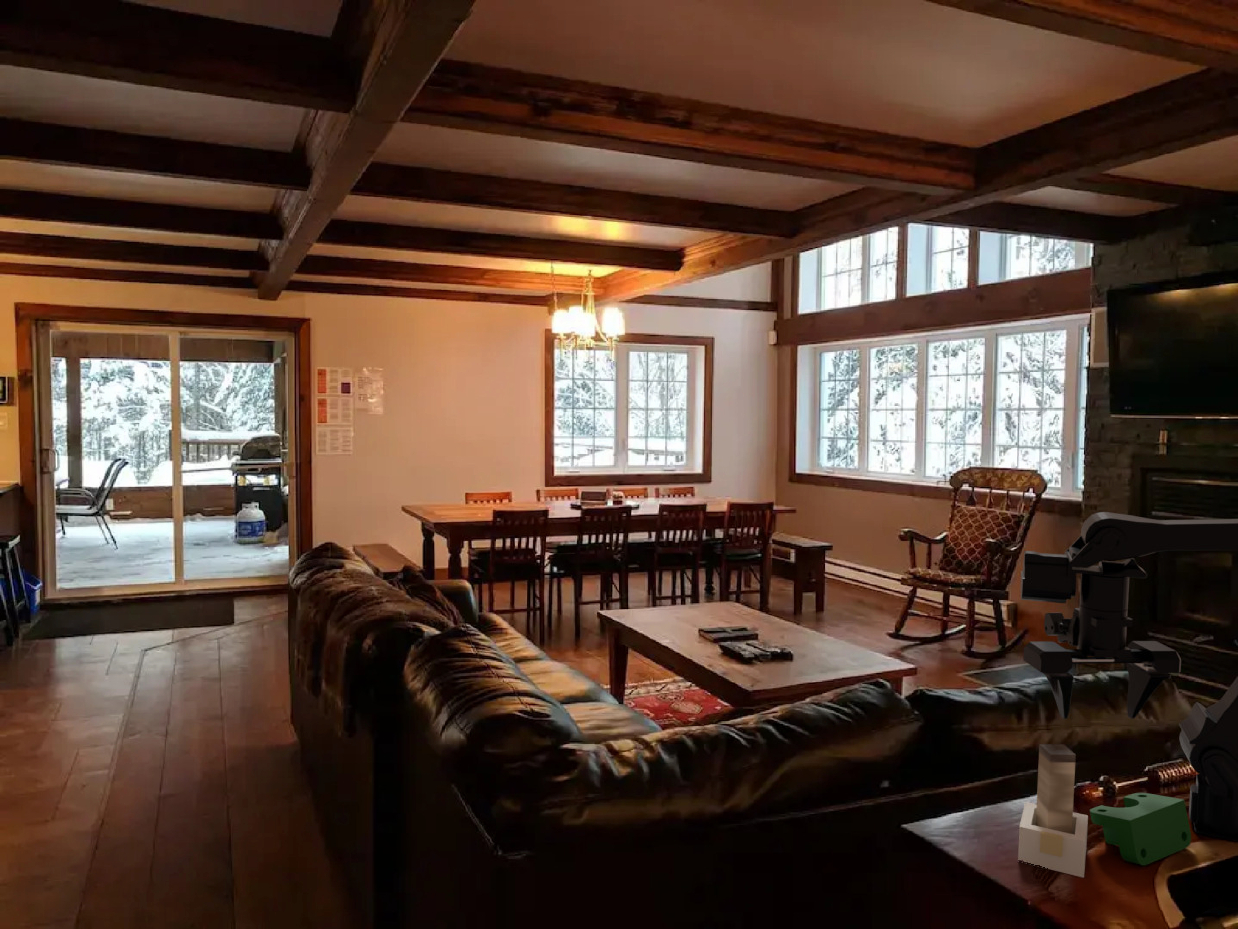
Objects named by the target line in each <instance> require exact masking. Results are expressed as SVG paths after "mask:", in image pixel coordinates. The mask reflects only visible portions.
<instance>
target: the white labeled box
mask: <svg viewBox="0 0 1238 929" xmlns="http://www.w3.org/2000/svg"><path fill="white" fill-rule="evenodd" d="M1036 811H1037V803H1032V802H1027V801H1025V802H1024V806H1023V810H1022V814H1021V819H1020V823H1019V826H1018V827H1019V832H1018V851H1017V852H1018V854H1017V861H1018V860H1023V861H1024V862H1028V863H1031V864H1034V865H1033V866H1035V865H1040V866H1042V867H1041V868H1043V867H1045V868H1044V869H1047V868H1048V869H1047V870H1051V871H1054V872H1059V873H1064V874H1066V875H1072V876H1075V877H1079V878H1085V870H1086V869H1085V868H1086V859H1087V858H1086V856H1087V843H1088V842H1087V841H1088V840H1087V839H1088V825H1089V823H1088V822H1089V816H1088V815H1087V814H1082V813H1078V812H1074V811H1073V819H1072V834H1069V833H1065V832H1061V831H1056V830H1052V829H1048V828H1043V827H1039V826H1036ZM1031 864H1030V865H1031Z"/></svg>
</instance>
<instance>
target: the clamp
mask: <svg viewBox="0 0 1238 929" xmlns="http://www.w3.org/2000/svg"><path fill="white" fill-rule="evenodd" d="M1123 802H1124V803H1123V804H1124V807H1112V806H1105V805H1103V804H1101V805H1099V806H1095V807H1093V808H1091V809H1089V814H1090V819H1091V823H1092V824H1094V825H1097V826H1101V827H1102V830H1103V836H1104V841H1105V843H1107V844H1109V845H1112V846H1116V847H1119V848H1118V849H1119V854H1120V856H1121V858H1122V860H1124V861H1125V862H1128V863H1133V864H1136V865H1139V866H1147V865H1149V864H1151V863H1155V862H1157V861H1159V860H1162V859H1163V858H1165V857H1169V856H1170V855H1173V854H1175V853H1178V852H1180V851H1182V850H1184V849H1187V848H1188V847H1189V846H1190V844H1191V841H1192V833H1191V829H1190V828H1191V827H1190V824H1189V823H1190V822H1189V816H1188V813H1187V806H1186V801H1185V799H1182V798H1176V797H1171V796H1167V795H1166V796H1165V795H1159V794H1154V793H1153V794H1152V793H1147V792H1136V793H1132V794H1128V795H1125V796H1123Z"/></svg>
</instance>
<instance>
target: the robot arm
mask: <svg viewBox="0 0 1238 929" xmlns="http://www.w3.org/2000/svg"><path fill="white" fill-rule="evenodd" d="M1213 551H1214V552H1218V551H1219V552H1222V551H1223V552H1224V551H1225V552H1227V551H1230V552H1234V551H1235V552H1237V551H1238V518H1225V519H1224V518H1219V519H1217V518H1216V519H1215V518H1214V519H1213V518H1212V519H1166V520H1165V519H1154V518H1147V517H1141V516H1136V515H1132V514H1131V515H1130V514H1125V513H1116V512H1108V511H1100V512H1095V513H1093V514H1091V515H1090V516H1088V518H1086V519H1085V520H1084V522H1083V524H1082V526H1081V531H1080V535H1079V537H1077V539H1075V541H1074V542H1073V543H1072V544H1071V545H1070V546H1069V547H1068V548H1067V549H1066V550H1065V551H1064V554H1061V553H1045V552H1044V553H1043V552H1038V551H1035V550H1034V551H1033V550H1025V551H1023V562H1022V570H1020V588H1019V589H1020V600H1022V601H1032V602H1035V601H1036V602H1044V603H1045V602H1046V603H1056V604H1057V603H1058V604H1067V600H1072V598H1074V597H1076V593H1077V574H1078V575H1079V574H1080V584H1079V585H1080V589H1079V590H1080V591H1079V607H1075V608H1074V610H1073V612H1072V618H1065V617H1064V614H1063V613H1062V612H1045V613H1044V621H1043V628H1044V633H1045V635H1046V636H1047V637H1048V636H1053V637H1054V636H1057V642H1058V643H1067V644H1068V645H1070V646H1071V647H1077V648H1075V649H1074V648H1073V649H1072V648H1070V649H1069V648H1065V647H1063V646H1061V645H1060V644H1058V643H1057V642H1055V641H1028V642H1027V643H1026V645H1025V646H1024V648H1023V654H1022V656H1023V657H1022V659H1023V661H1024V662H1026V663H1027V664H1028V665H1029V666H1031V667H1033V668H1034V669H1036V670H1037V671H1038V672H1039V673H1042V674H1043V675H1045V677H1046V679H1047V681H1048V683H1049V686H1050V688H1051V691H1052V694H1053V697H1054V700H1055V703H1056V706H1057V708H1058V712H1059V715H1060V716H1061V718H1062V719H1063V720H1067V719H1068V717H1069V713H1070V709H1071V702H1072V693H1073V687H1074V686H1073V685H1074V684H1073V683H1074V675H1072V674H1071V673H1069V671H1071V670H1072V669H1073V664H1074V665H1076V664H1077V665H1078V664H1083V665H1084V664H1086V665H1087V664H1088V665H1089V664H1091V665H1093V664H1095V665H1096V664H1101V665H1102V664H1104V665H1105V664H1125V667H1126V670H1127V674H1128V689H1127V690H1128V691H1127V699H1126V701H1127V702H1126V710H1127V711H1126V713H1127V717H1128V718H1130V719H1135V718H1137V715H1138V714H1139V713H1140V711H1141V710H1142V709H1143V708H1144V705H1145V704H1146V702H1147V701H1148V700H1149V699H1150V697H1151V696H1152V694H1153V693H1154V692H1156V690H1157V688H1158V687H1159V686H1160V685H1161V684H1162V683H1163V681H1164V680H1170V679H1171V676H1172V675H1171V674H1180V673H1181V670H1182V668H1181V667H1182V659H1181V657H1180V654H1179V653H1178V652H1177V650H1175V649H1173V648H1171V647H1168V646H1167V645H1164V644H1163V643H1160V642H1159V641H1156V640H1132V641H1130V642H1129V644H1128V645H1126V644H1127V628H1133V626H1134V624H1133V623H1134V619H1133V618H1131V617H1129V616H1128V608H1129V606H1128V605H1129V592H1130V591H1129V589H1130V578H1134V579H1135V578H1136V579H1146V578H1147V577H1148V574H1147V572H1146V571H1145V570H1144V569H1143V568H1142V566H1141V567H1140V566H1139V565H1138V563H1137V561H1136V560H1135V558H1136V559H1137V558H1141V557H1145V556H1148V555H1152V554H1156V553H1163V552H1213ZM1121 560H1124V561H1121ZM1097 564H1098V565H1097ZM1178 725H1179V727H1180V729H1181V731H1180V733H1179V743H1180V747H1181V749H1182V750H1183V753H1184V754H1185V756H1186V758H1187V760H1188V761H1189V764H1190V765H1191V767H1192V769H1193V770H1194V771H1195V772H1196V773H1197V774H1196V780H1195V784H1191V785H1190V788H1189V789H1190V791H1189V803H1188V804H1189V805H1188V806H1189V807H1188V815H1189V816H1188V818H1189V821H1190V822H1191V823H1193V827H1194V833H1197V834H1199V835H1204V836H1209V837H1213V838H1218V839H1222V840H1228V841H1233V842H1237V843H1238V676H1236V678H1235V679H1234V681H1233V682H1232V683H1231V684H1230V686H1229V687H1228V689H1227V690H1226V691H1225V693H1224V694H1223V696H1222V697H1221V698H1220V699H1219V700H1218V701H1217V702H1215V703H1214V704H1211V705H1210V706H1208V707H1205V706H1204V705H1203V704H1201V703H1199V702H1197V701H1196V702H1195V703H1194V704H1193V706H1192V708H1191V711H1190V713H1189V715H1187V717H1186V718H1185V719H1183V721H1180V722H1179V724H1178Z"/></svg>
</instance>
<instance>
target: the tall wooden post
mask: <svg viewBox="0 0 1238 929" xmlns="http://www.w3.org/2000/svg"><path fill="white" fill-rule="evenodd" d="M1038 746H1039V748H1038V768H1037V769H1038V770H1037V772H1038V773H1037V788H1036V789H1037V790H1036V791H1037V792H1036V804H1037V811H1036V826H1039V827H1043V828H1048V829H1052V830H1056V831H1061V832H1065V833H1069V834H1072V819H1073V812H1074V795H1075V794H1074V793H1075V777H1076V776H1075V775H1076V774H1075V773H1076V756H1077V755H1076V753H1074V752H1073V751H1072V750H1071V749H1070V748H1069V747H1067V746H1066V745H1065V744H1064V743H1063V744H1062V743H1060V744H1059V743H1047V744H1046V743H1041V744H1040V743H1039V745H1038Z"/></svg>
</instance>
